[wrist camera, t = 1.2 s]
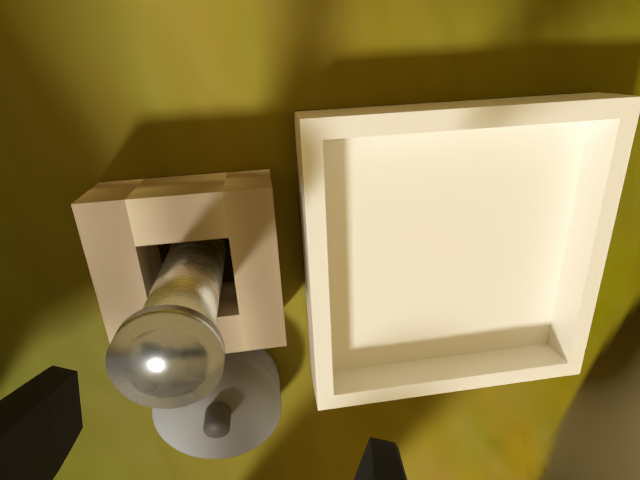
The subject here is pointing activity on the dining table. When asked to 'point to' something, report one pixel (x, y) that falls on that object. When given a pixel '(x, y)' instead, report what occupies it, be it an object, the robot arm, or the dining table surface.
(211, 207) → the block
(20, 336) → the dining table surface
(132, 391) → the pin
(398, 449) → the robot arm
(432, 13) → the dining table surface
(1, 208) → the dining table surface
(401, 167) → the tray
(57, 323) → the dining table surface
